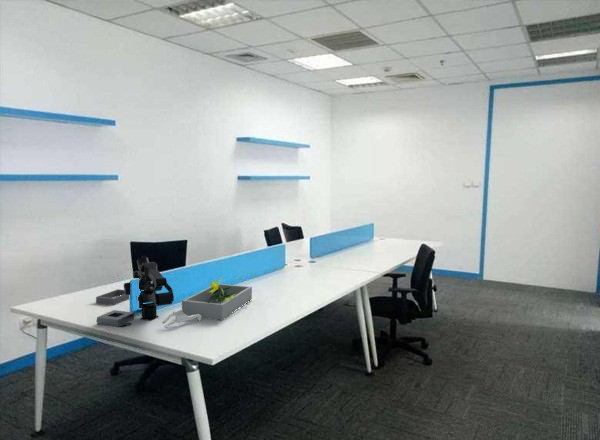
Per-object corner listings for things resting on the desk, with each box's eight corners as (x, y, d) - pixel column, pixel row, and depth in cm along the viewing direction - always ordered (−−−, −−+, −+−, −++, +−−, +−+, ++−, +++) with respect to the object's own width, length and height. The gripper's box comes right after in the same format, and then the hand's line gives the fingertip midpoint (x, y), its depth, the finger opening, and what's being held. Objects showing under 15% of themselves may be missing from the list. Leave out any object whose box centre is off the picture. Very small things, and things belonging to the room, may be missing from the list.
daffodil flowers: (235, 300, 254) (242, 301, 220) (213, 312, 250) (216, 315, 216) (223, 275, 255) (227, 272, 221) (200, 286, 250) (201, 285, 217)
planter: (251, 300, 252) (251, 286, 252) (222, 320, 215) (222, 305, 214) (216, 296, 258) (216, 283, 258) (181, 315, 221) (181, 300, 220)
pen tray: (134, 296, 255) (134, 291, 255) (114, 305, 238) (113, 298, 237) (117, 294, 258) (117, 289, 258) (96, 303, 241) (96, 296, 241)
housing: (134, 319, 214) (134, 312, 214) (118, 327, 203) (117, 319, 203) (114, 316, 218) (114, 310, 217) (97, 324, 206) (96, 317, 206)
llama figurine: (171, 339, 205) (203, 319, 214) (161, 320, 201) (194, 300, 211) (169, 338, 206) (201, 318, 216) (160, 319, 203) (193, 299, 212)
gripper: (160, 264, 229) (155, 280, 239) (123, 268, 219) (119, 284, 229) (165, 281, 223) (159, 297, 233) (127, 286, 213) (123, 302, 223)
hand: (140, 295), depth 230 cm, fingers closed on end plug, 5 cm apart
